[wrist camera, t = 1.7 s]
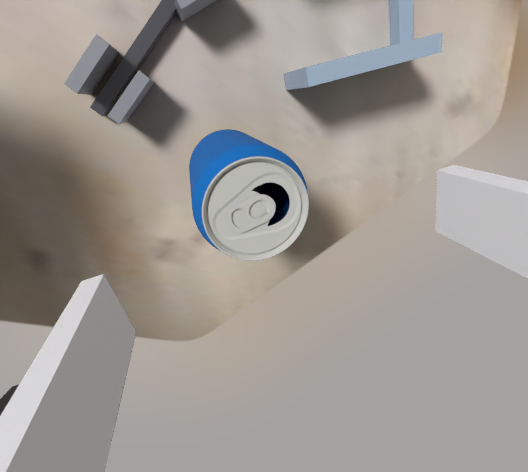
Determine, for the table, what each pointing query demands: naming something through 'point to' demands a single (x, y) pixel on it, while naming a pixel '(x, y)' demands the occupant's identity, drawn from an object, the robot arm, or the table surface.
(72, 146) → the table surface
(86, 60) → the clip
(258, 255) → the beverage can
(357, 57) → the end holder
